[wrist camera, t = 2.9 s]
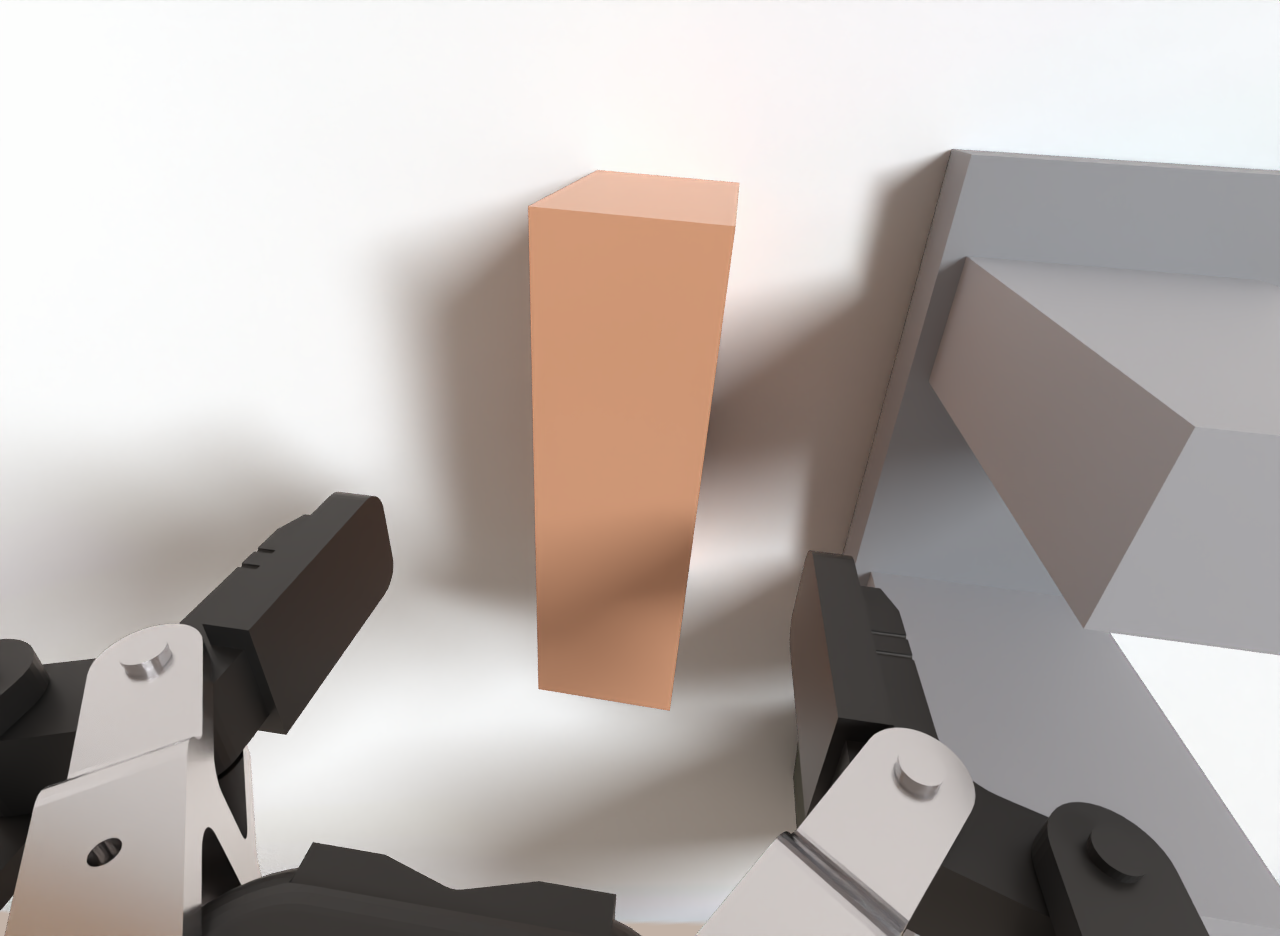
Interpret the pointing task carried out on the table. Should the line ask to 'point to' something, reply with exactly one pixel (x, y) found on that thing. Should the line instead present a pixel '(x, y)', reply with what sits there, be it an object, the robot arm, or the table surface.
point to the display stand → (1087, 483)
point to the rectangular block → (621, 419)
